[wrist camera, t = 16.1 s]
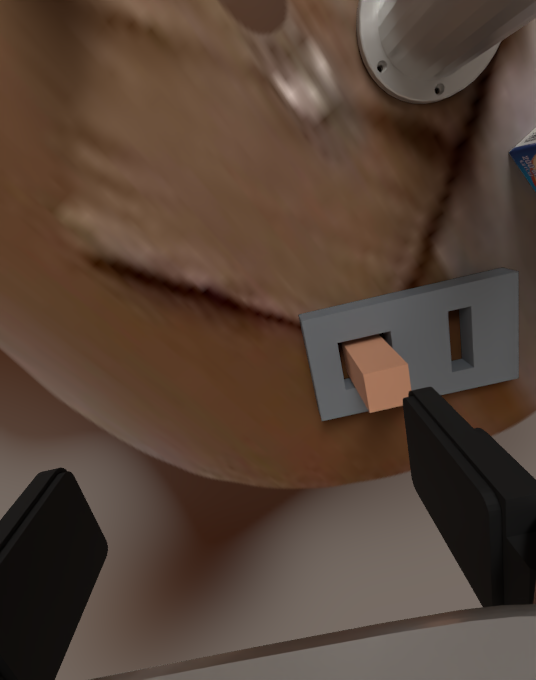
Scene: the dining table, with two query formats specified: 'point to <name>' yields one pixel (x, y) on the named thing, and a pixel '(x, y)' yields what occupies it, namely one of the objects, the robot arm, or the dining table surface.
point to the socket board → (421, 337)
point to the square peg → (376, 372)
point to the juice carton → (526, 157)
